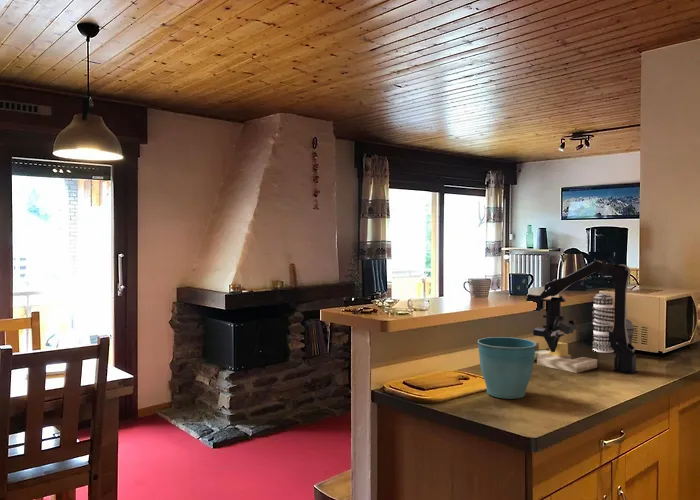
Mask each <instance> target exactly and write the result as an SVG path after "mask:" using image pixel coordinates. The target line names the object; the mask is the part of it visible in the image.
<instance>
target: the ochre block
mask: <svg viewBox="0 0 700 500" xmlns="http://www.w3.org/2000/svg"><path fill="white" fill-rule="evenodd" d="M549 351H550V355H556V356H565V355H568V354H569V344H568V343H566V342H561V341H558V344H557V347H556V350H555V352H551V350H550V349H549Z"/></svg>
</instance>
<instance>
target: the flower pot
mask: <svg viewBox="0 0 700 500" xmlns="http://www.w3.org/2000/svg"><path fill="white" fill-rule="evenodd" d="M536 343H537V342H536V341H532V340H529V339H524V338H520V337H519V338H517V337H506V336H495V337H494V336H492V337H484V338H479V339H477V344H478V345H477V346H478V357H479V366H480V370H481V374H482V377H483V379H484V383H485V387H486V393H487V394H488V395H489V396H492V397H495V398H499V399H507V400H508V399H509V400H510V399H511V400H513V399H514V400H516V399H521V398H524V397H525V396H526V392H527V387H528V385H529V381H530V379H531V377H532V374H533V369H534V363H535V361H534V354H535V347H536Z"/></svg>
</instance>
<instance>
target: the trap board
mask: <svg viewBox="0 0 700 500" xmlns="http://www.w3.org/2000/svg"><path fill="white" fill-rule="evenodd" d="M535 343H536V347H535V354H534V362H535V361H536V365H537V366H543V367H547V368H551V369H557V370H560V371H561V370H562V371H565V372H571V373H576V374H577V373H581V372H585V371H589V370H592V369H596V368H598V359H596V358H591V357H587V356H586V357H585V356H581V357H577V358H573V359H572V354H569V353H568V355H565V356H556V355H550V350H546V349H541V348H540V345H539V344H540V343H539V342H535Z"/></svg>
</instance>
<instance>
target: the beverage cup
mask: <svg viewBox="0 0 700 500" xmlns="http://www.w3.org/2000/svg"><path fill="white" fill-rule="evenodd" d="M627 314H628V308H627V307H626V317H627ZM626 329H627V333H628V338H629V343H630V344H631V345H632V346H633V344H632V343H633V335H634V330H635V326H634V324H633V322H632V321H631V320H629V319H628V318H626Z"/></svg>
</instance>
